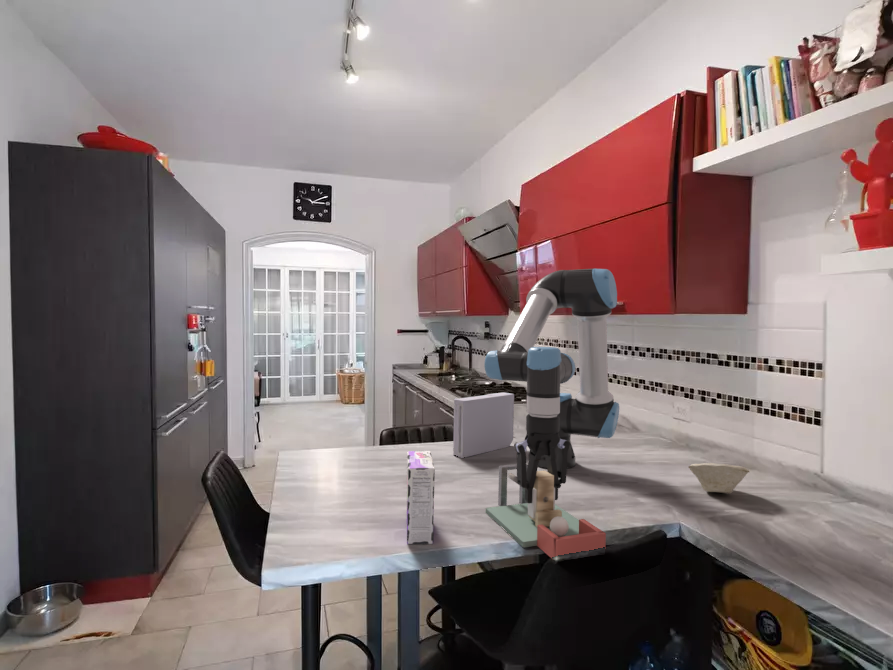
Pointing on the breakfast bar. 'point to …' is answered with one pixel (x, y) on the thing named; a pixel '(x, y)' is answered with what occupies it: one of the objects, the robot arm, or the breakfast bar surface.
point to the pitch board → (526, 523)
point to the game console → (483, 423)
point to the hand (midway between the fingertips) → (541, 514)
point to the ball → (559, 526)
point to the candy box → (420, 497)
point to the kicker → (543, 498)
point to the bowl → (718, 476)
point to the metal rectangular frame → (503, 485)
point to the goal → (570, 540)
